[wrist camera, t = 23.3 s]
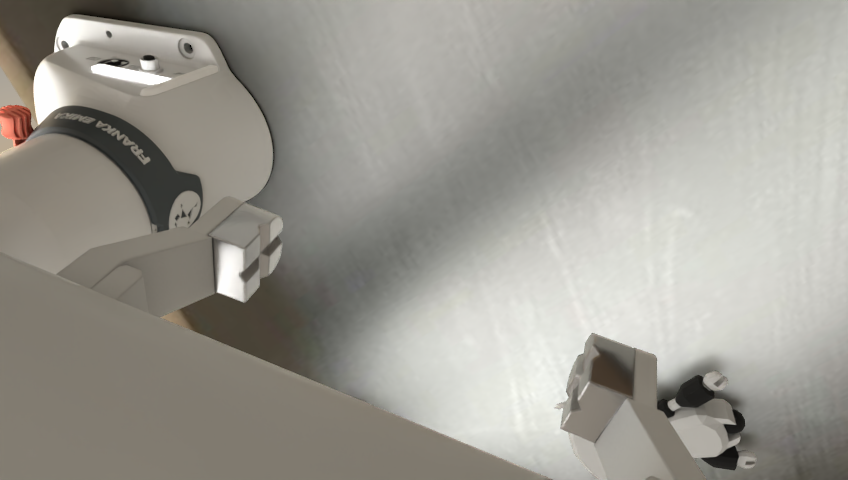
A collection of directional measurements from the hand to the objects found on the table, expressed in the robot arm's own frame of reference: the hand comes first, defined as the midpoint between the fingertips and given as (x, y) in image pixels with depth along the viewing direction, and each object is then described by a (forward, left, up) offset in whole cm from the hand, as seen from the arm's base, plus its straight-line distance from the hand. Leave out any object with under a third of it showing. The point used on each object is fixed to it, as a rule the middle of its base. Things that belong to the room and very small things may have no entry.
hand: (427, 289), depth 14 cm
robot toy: (+21, -30, -31) cm, 48 cm away
